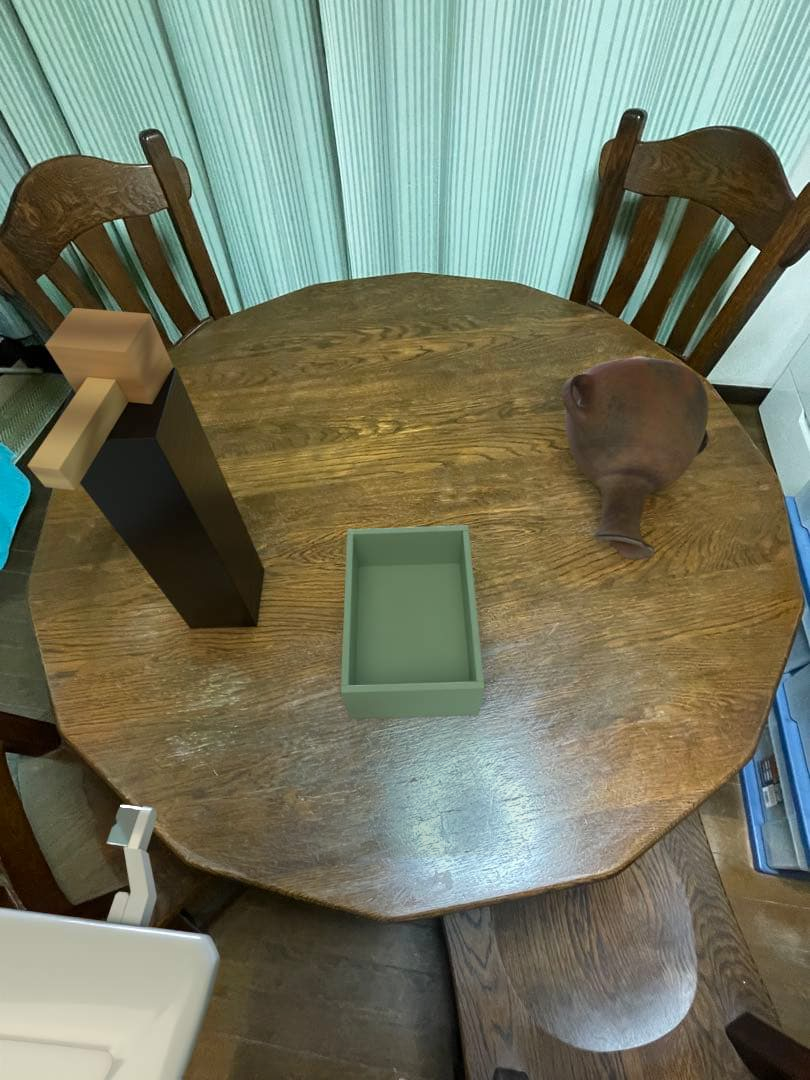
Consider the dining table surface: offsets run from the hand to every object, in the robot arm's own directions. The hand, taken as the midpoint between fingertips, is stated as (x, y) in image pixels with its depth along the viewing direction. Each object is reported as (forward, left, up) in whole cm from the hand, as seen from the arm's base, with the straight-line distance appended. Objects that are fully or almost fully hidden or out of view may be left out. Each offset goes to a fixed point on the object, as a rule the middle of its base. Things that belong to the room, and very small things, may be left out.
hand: (39, 791), depth 28 cm
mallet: (+8, +30, -6) cm, 32 cm away
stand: (+10, +33, -42) cm, 54 cm away
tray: (+29, +14, -42) cm, 53 cm away
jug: (+68, +18, -42) cm, 82 cm away
